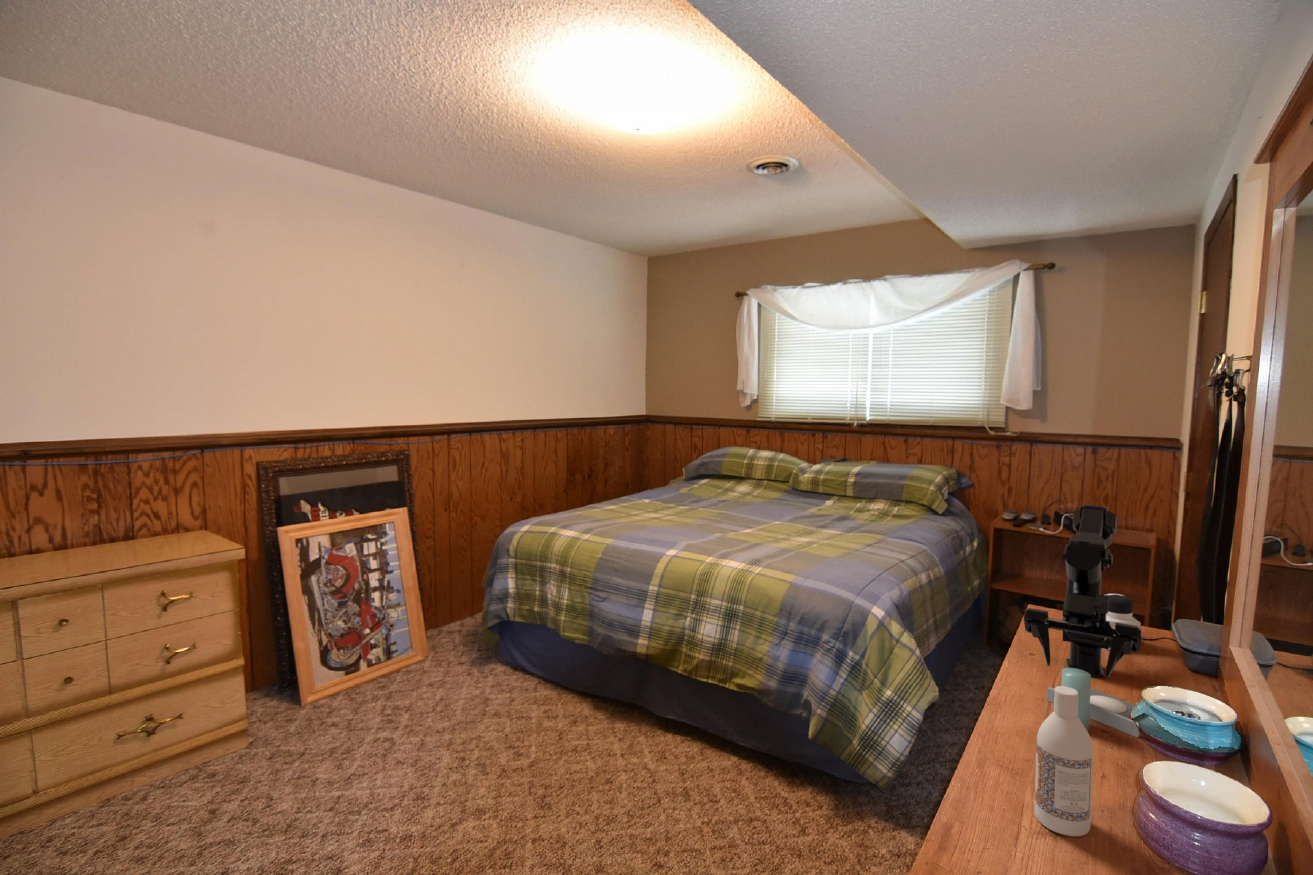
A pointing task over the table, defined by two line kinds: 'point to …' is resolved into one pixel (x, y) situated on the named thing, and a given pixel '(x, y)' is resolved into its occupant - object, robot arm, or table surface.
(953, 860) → the table surface
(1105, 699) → the mat
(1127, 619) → the medicine bottle
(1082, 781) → the bath foam
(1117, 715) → the low wall
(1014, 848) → the table surface
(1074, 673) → the teal canister
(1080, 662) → the robot arm
